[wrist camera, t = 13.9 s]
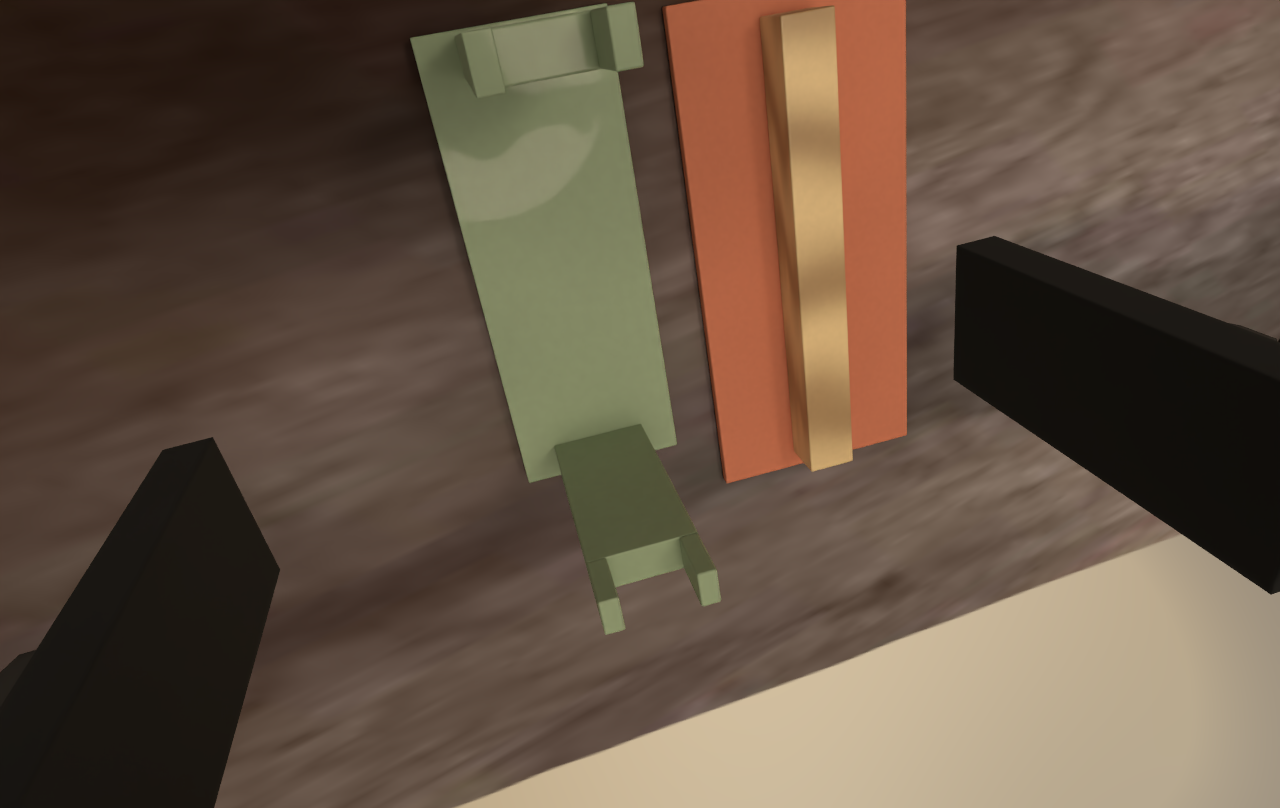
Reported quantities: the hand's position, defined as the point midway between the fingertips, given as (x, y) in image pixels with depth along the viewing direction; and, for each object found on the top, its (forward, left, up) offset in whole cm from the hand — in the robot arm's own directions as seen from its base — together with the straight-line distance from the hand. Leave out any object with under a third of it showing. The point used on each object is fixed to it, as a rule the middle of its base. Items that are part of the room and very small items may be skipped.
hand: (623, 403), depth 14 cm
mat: (+6, +13, -24) cm, 28 cm away
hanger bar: (+6, +13, -23) cm, 27 cm away
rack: (+4, +1, -24) cm, 24 cm away
